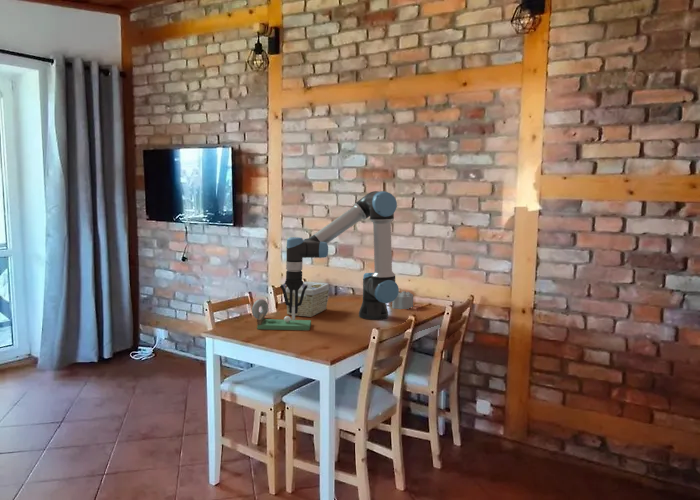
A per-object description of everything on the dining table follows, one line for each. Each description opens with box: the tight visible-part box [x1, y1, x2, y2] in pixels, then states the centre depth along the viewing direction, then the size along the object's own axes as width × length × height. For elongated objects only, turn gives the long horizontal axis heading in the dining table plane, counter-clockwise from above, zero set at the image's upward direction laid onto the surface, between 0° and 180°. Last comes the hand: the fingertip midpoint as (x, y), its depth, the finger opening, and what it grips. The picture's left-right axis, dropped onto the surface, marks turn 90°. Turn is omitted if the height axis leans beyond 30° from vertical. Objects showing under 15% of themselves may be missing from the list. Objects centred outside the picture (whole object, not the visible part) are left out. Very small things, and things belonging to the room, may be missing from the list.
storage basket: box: [285, 281, 330, 318], centre depth 304 cm, size 24×16×15 cm
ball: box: [283, 315, 292, 323], centre depth 271 cm, size 3×3×3 cm
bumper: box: [256, 314, 266, 326], centre depth 271 cm, size 2×12×2 cm, turn 0°
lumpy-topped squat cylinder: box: [391, 290, 414, 310], centre depth 323 cm, size 10×13×9 cm
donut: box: [251, 298, 269, 320], centre depth 286 cm, size 10×3×10 cm, turn 144°
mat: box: [256, 318, 312, 331], centre depth 272 cm, size 24×12×2 cm, turn 90°
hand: (293, 319), depth 271 cm, fingers closed
